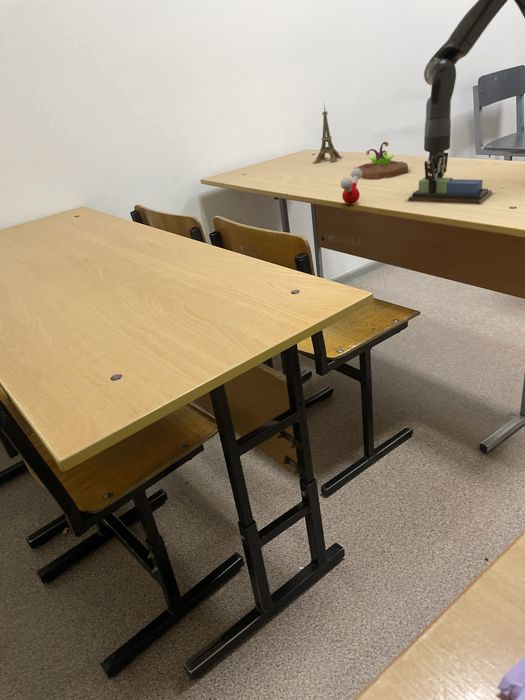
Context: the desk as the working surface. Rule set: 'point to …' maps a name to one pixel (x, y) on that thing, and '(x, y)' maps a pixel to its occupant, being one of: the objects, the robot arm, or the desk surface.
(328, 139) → the eiffel tower
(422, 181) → the green rectangular block
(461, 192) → the blue rectangular block
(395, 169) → the plant
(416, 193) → the dark wooden tray
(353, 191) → the molecular model
